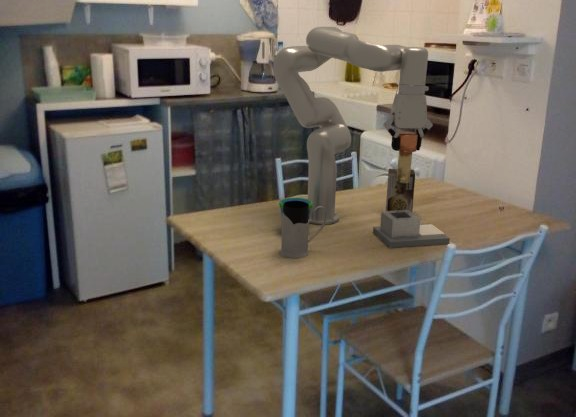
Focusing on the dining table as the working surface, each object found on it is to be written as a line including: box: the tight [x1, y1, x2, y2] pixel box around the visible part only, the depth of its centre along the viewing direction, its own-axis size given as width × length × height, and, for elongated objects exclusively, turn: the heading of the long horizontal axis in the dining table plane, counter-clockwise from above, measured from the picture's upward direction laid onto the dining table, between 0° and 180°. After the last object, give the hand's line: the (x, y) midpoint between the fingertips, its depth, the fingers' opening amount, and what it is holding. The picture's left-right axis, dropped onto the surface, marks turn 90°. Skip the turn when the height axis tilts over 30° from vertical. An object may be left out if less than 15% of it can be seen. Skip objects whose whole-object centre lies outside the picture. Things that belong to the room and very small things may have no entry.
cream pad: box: [419, 223, 446, 237], centre depth 199 cm, size 8×9×1 cm
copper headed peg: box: [396, 131, 418, 183], centre depth 190 cm, size 6×6×15 cm
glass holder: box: [279, 201, 327, 259], centre depth 183 cm, size 9×14×15 cm, turn 111°
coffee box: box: [385, 168, 416, 213], centre depth 219 cm, size 9×6×16 cm
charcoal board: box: [372, 223, 451, 249], centre depth 198 cm, size 20×14×2 cm
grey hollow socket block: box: [379, 210, 421, 239], centre depth 196 cm, size 9×9×6 cm
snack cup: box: [278, 197, 313, 220], centre depth 200 cm, size 16×10×10 cm
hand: (405, 149), depth 189 cm, fingers closed on copper headed peg, 6 cm apart
